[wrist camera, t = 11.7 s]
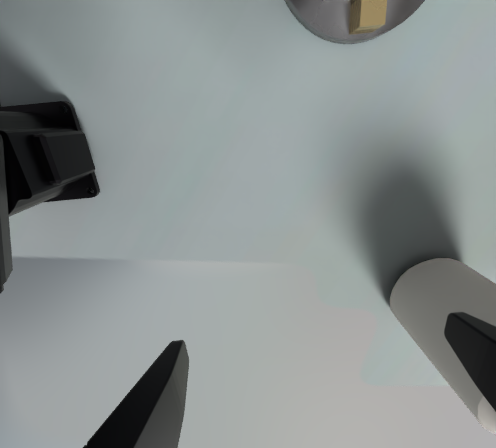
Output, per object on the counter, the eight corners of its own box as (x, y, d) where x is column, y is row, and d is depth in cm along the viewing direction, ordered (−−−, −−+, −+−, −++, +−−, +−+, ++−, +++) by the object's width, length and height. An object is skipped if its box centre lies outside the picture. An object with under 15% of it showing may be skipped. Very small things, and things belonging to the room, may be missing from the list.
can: (373, 315, 25) (478, 468, 14) (402, 247, 23) (560, 371, 12) (443, 323, 26) (596, 474, 15) (479, 258, 23) (698, 384, 12)
